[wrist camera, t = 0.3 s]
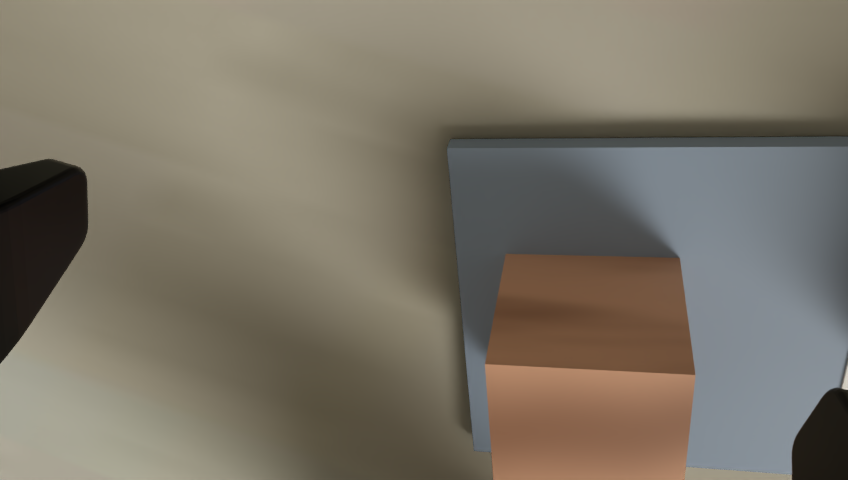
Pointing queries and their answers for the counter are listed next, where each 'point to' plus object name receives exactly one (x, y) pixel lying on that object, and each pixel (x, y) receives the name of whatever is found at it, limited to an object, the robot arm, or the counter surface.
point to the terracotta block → (590, 369)
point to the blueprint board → (700, 263)
